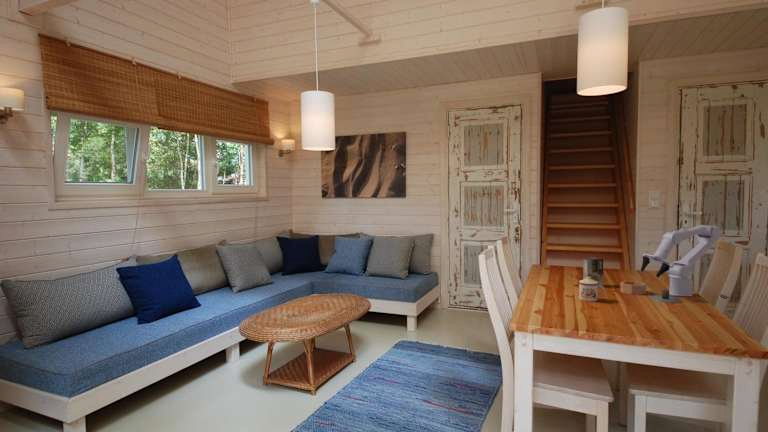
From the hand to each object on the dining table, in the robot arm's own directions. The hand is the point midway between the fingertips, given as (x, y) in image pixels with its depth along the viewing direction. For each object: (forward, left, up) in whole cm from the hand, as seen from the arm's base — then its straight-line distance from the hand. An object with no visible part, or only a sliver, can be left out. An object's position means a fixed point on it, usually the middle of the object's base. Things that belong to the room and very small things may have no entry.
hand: (649, 273), depth 223 cm
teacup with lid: (+29, +10, -13) cm, 33 cm away
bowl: (+4, -10, -12) cm, 17 cm away
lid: (-7, +3, -13) cm, 15 cm away
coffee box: (+21, -23, -13) cm, 34 cm away
